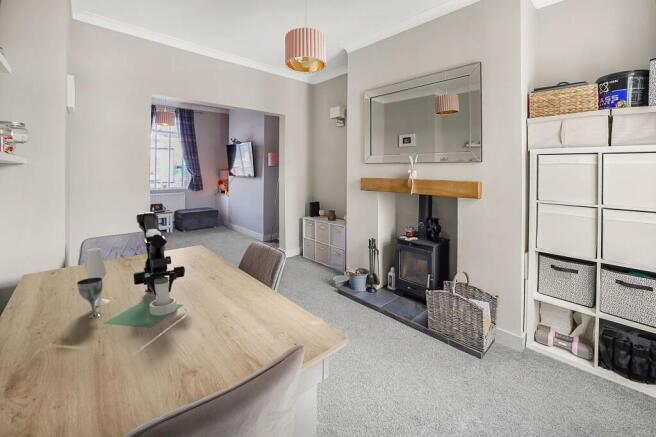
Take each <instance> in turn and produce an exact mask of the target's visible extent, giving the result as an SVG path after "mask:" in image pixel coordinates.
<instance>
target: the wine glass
mask: <svg viewBox="0 0 656 437" xmlns="http://www.w3.org/2000/svg"><path fill="white" fill-rule="evenodd" d="M76 284H77V285H76V286H77V290H78V293H79V295H80V297H81V298H82V299H84V300H85V301H87V302H88V303H89V304H90V306H91V311H92V314H90V315H89V316H88V318H89V319H90V318H91V319H93V318H96V317H99V316H100V315H101V314H100V313H96V310H95V307H96V306H95V301H96V300H98V297H99V296H100V294H101V295H102V291H103V288H104V287H103V285H104V282H103V279H102V278H100V277H93V278H88V277H87V278H84V279H80V280H79V281H77V282H76Z"/></svg>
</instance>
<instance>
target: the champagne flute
mask: <svg viewBox="0 0 656 437" xmlns="http://www.w3.org/2000/svg"><path fill="white" fill-rule="evenodd" d="M86 253H87V255H86V258H87V259H86V261H87V263H86V266H87V268H86V271H87V274H86V275H87V278H93V277H100V278H102V280H103V279H104V278H105V277H106V275H107V269H106V265H105V261H104V257H103V256H104V255H103V252H102V248H99V247H96V248H95V247H94V248H90V249H89V248H88V249H87V250H86ZM109 302H110V300H109V299H106V298H102V293H101V294H100V296H99V297H98V298H97V300H96V301H95V307H98V306H99V307H100V306H103V305H105V304H107V303H109Z"/></svg>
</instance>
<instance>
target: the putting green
mask: <svg viewBox="0 0 656 437" xmlns="http://www.w3.org/2000/svg"><path fill="white" fill-rule="evenodd" d="M183 306H184V304H178V303H177V299H176V298H175V297H171V296H170V304H168V305H165V306H156V299H154V300H152V301H140V302H138V303H137V304H135V305H134V306H131V307H130V308H128V309H126V310H124V311H123V312H121V313H118V314H117V315H116V316H113V317H112V318H110V319H109V320H107V321H105V322H103V324H106V325H118V326H126V327H127V326H128V327H129V326H130V327H136V328H137V327H139V328H150V329H151V328H153V327H154V326H155V325H157V324H158V323H160V322H161V321H163V320H164V319H166V318H167V317H168V316H170V315H172V314H173V313H174V312H175V311H177V310H179V309H180V308H181V307H183Z"/></svg>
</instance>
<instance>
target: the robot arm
mask: <svg viewBox="0 0 656 437" xmlns="http://www.w3.org/2000/svg"><path fill="white" fill-rule="evenodd" d="M157 221H158V218H157V213H155V212H152V211H145V212H142V213H141V212H140V213H138V214H137V215H136V223H137V224H138V228H139V229H141V231H143V237H144V238H143V243H144V247H145V251H146V252H145V253H146V257H147V258H146V261H145V262H144V263H145V264H144V267H143V271H138V272H134V273H133V276H132V277H133V284H134V285H135V286H137V285H144V286H146V289H145V291H144V292H152V294H153V296H156V292H155V284H154V279H155V278H158V277H168V280H169V281H168V284H169V293H171V291H172V286H173V284H174V281H176V280H177V279H178V278H183V277H185V272H186V269H185V266H184V265H178V266H173V269H172V270H168V265H171V264H172V258H171V255H167V256H165V255H166V254H165V251H166V250H165V249H166V244H167V243H168V240H167V239H166V238H165V236H163V235H162V232H161V231H159V230H158V228H157V224H156V222H157Z"/></svg>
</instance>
